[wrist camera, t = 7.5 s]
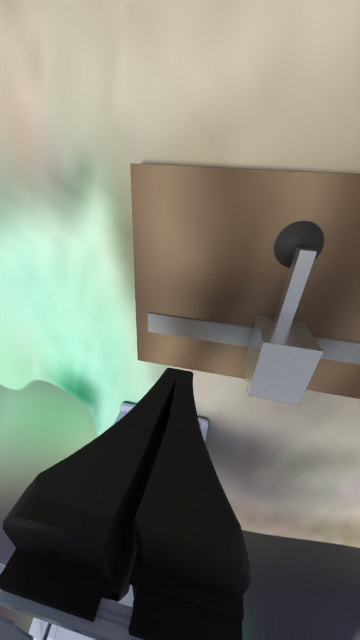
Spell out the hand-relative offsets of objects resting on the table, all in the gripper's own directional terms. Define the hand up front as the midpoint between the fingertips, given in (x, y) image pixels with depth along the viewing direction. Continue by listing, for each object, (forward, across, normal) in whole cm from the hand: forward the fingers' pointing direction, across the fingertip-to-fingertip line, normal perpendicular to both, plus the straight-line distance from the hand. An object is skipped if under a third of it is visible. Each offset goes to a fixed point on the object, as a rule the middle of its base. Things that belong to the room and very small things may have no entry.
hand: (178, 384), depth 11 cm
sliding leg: (+5, -6, -2) cm, 8 cm away
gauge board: (+7, -8, -3) cm, 11 cm away
